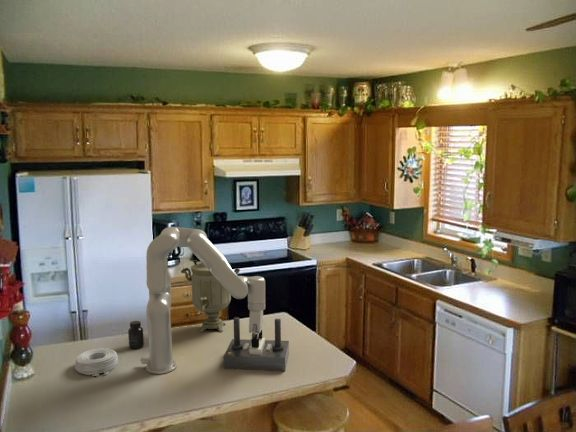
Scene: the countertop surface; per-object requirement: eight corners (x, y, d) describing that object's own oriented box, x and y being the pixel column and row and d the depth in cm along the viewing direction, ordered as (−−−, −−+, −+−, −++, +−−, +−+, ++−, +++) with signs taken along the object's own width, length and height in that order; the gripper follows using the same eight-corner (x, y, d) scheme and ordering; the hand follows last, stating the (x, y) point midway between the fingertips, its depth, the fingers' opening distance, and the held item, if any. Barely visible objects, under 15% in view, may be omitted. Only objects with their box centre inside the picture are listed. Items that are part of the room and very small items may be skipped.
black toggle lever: (271, 350, 230) (271, 321, 228) (273, 346, 234) (272, 317, 232) (282, 351, 229) (282, 321, 227) (283, 346, 234) (283, 317, 232)
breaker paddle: (249, 364, 227) (249, 349, 226) (254, 352, 240) (254, 337, 239) (261, 365, 227) (260, 349, 226) (265, 352, 240) (265, 337, 238)
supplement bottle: (147, 345, 251) (145, 321, 249) (136, 350, 245) (134, 326, 243) (137, 342, 254) (135, 318, 253) (125, 347, 249) (124, 323, 247)
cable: (103, 378, 218) (102, 365, 217) (66, 374, 222) (65, 361, 221) (125, 361, 235) (124, 348, 234) (90, 357, 239) (89, 344, 238)
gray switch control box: (224, 368, 226) (223, 353, 225) (232, 351, 244) (232, 337, 243) (285, 371, 224) (285, 355, 222) (289, 353, 241) (288, 339, 240)
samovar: (169, 334, 264) (166, 256, 258) (198, 317, 288) (195, 245, 282) (222, 343, 253) (219, 261, 247) (247, 325, 277) (245, 249, 271)
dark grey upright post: (230, 349, 231) (229, 320, 229) (232, 345, 236) (232, 316, 234) (241, 349, 231) (240, 320, 229) (243, 345, 236) (242, 316, 234)
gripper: (251, 298, 238) (251, 335, 241) (244, 311, 221) (245, 350, 224) (267, 299, 238) (268, 335, 240) (262, 312, 221) (262, 351, 223)
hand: (257, 342), depth 232 cm, fingers open, 9 cm apart
